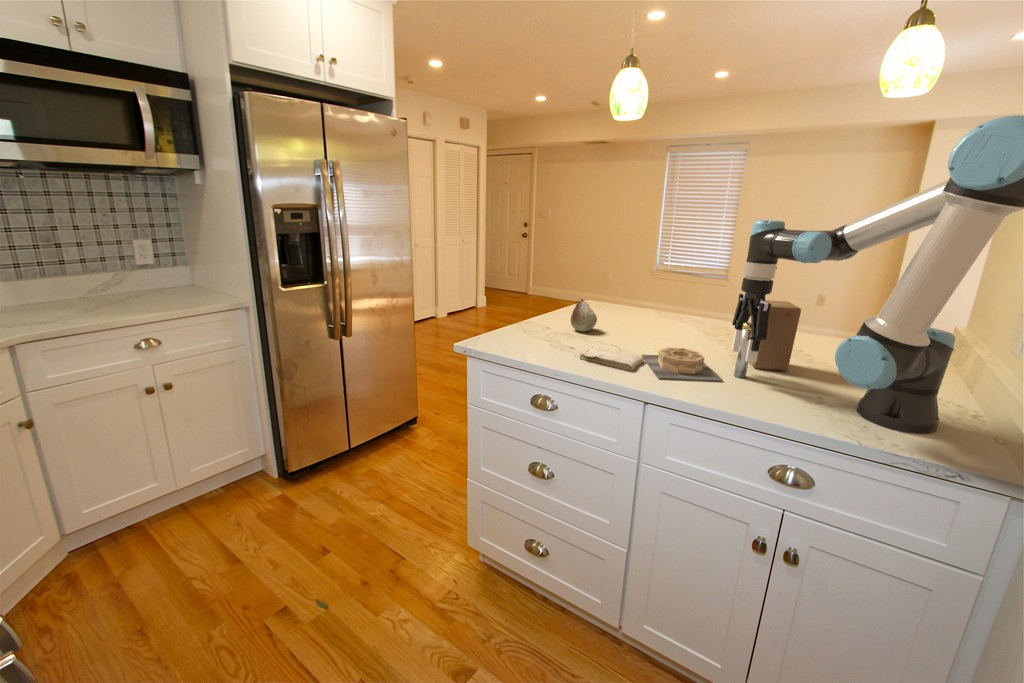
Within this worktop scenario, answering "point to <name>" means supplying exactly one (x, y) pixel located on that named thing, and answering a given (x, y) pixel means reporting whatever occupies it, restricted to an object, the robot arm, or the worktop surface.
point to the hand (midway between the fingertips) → (743, 356)
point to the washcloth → (612, 358)
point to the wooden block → (778, 337)
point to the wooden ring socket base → (680, 365)
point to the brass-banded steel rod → (743, 351)
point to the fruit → (583, 317)
